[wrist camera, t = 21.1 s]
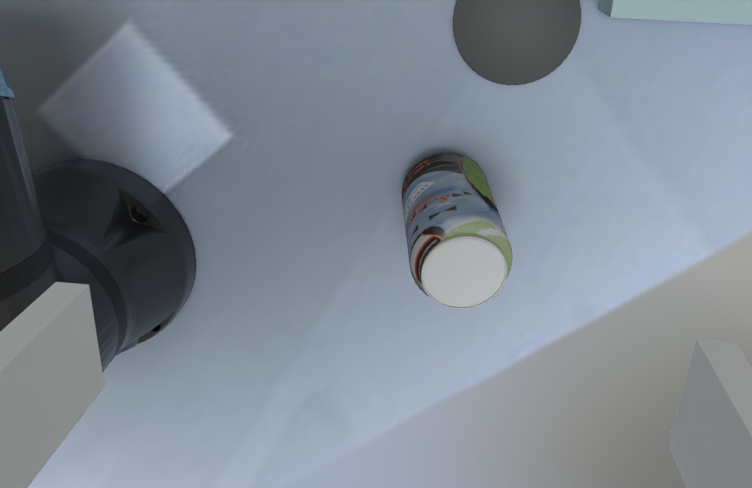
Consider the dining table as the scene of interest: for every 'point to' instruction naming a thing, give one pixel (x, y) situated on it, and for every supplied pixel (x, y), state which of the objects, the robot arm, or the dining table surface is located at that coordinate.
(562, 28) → the pad
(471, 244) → the beverage can
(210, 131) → the dining table surface
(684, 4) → the socket
